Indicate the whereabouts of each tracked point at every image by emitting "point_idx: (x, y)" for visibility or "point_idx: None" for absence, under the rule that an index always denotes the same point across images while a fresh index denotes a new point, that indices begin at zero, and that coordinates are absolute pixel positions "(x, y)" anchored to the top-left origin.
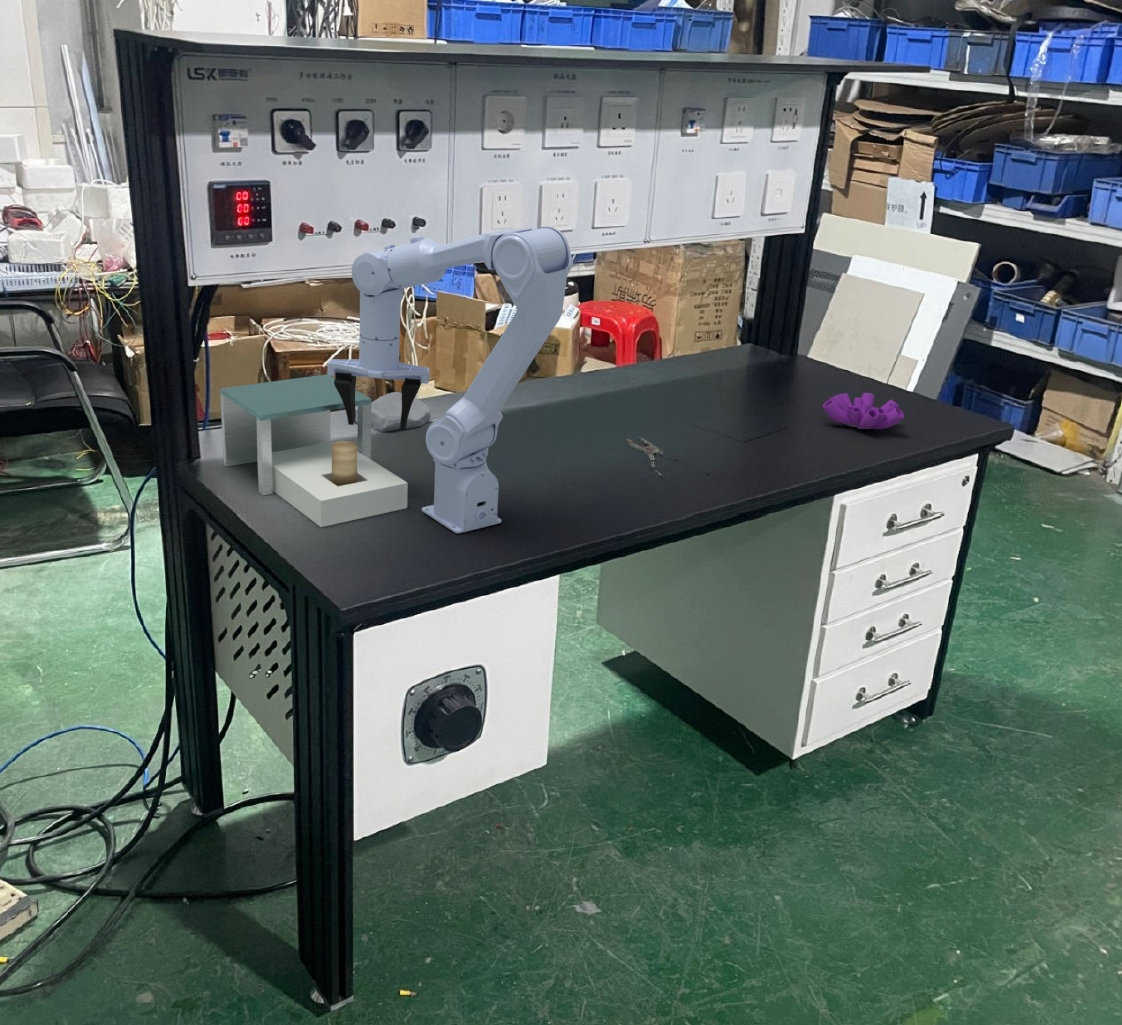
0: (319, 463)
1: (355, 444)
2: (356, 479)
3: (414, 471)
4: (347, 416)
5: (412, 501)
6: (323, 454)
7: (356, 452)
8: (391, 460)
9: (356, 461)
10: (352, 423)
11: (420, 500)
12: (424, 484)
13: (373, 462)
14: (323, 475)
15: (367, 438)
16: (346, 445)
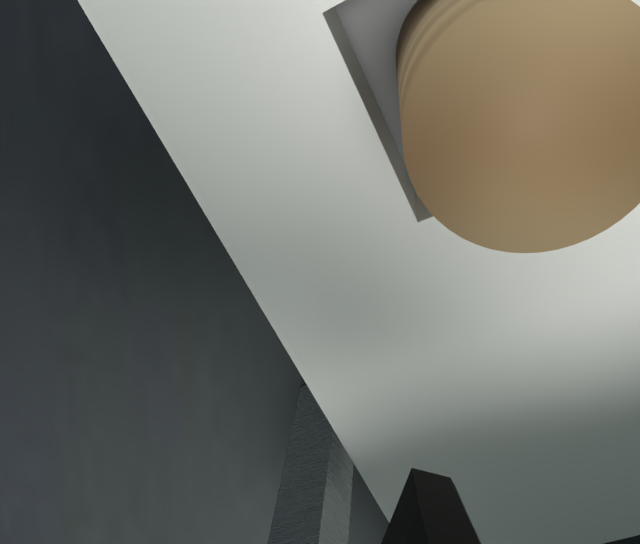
0: (601, 321)
1: (417, 145)
2: (403, 42)
3: (114, 400)
4: (479, 540)
5: (102, 57)
6: (547, 440)
7: (411, 69)
8: (210, 503)
9: (408, 54)
10: (416, 477)
11: (62, 69)
12: (61, 265)
13: (275, 315)
14: None
15: (292, 520)
16: (517, 121)
